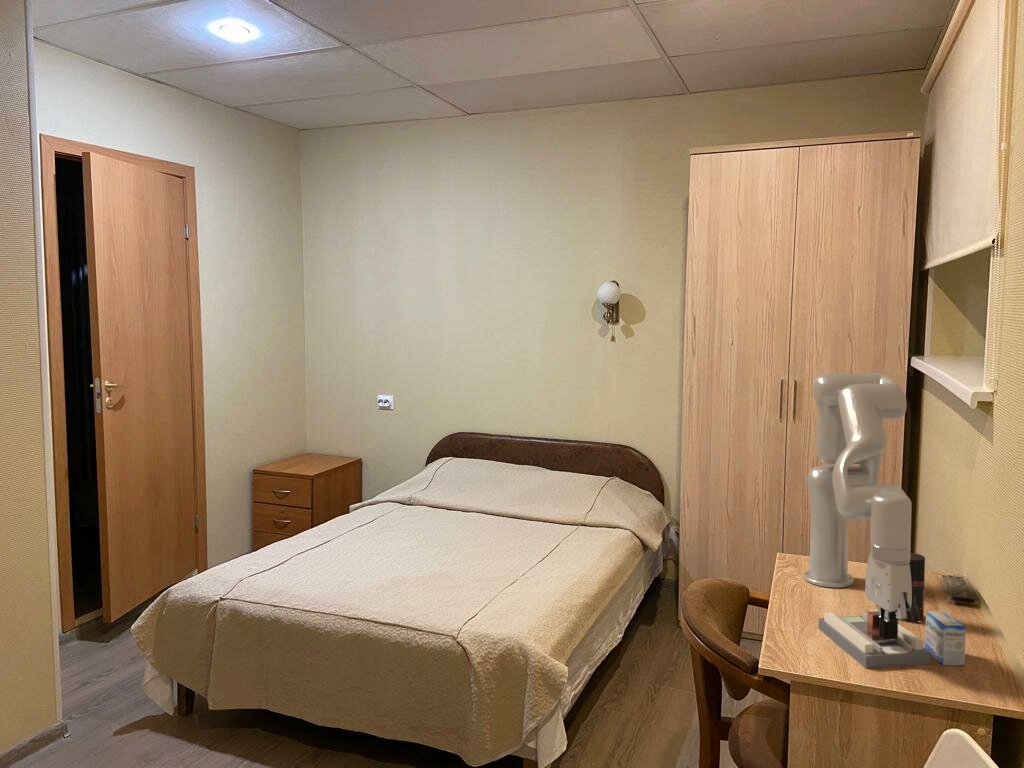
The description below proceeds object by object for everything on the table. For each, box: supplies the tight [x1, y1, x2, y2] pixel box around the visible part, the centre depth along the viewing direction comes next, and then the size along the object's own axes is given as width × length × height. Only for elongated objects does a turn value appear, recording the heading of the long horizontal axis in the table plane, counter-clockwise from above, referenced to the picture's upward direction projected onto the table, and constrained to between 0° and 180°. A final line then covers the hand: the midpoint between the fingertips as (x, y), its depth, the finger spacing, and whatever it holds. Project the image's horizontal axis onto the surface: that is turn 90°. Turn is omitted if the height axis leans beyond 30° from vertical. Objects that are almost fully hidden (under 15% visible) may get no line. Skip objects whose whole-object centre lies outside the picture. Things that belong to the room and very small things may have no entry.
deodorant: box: [900, 552, 926, 623], centre depth 182 cm, size 6×6×15 cm
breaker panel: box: [818, 609, 932, 669], centre depth 168 cm, size 20×14×4 cm
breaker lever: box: [861, 611, 896, 644], centre depth 165 cm, size 5×5×6 cm
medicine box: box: [924, 610, 967, 666], centre depth 162 cm, size 8×4×9 cm, turn 178°
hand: (888, 637), depth 162 cm, fingers closed
